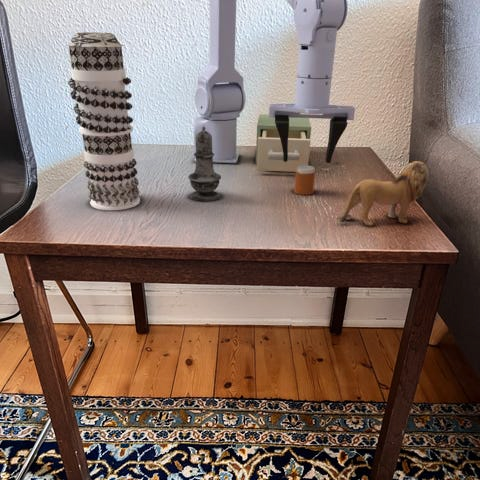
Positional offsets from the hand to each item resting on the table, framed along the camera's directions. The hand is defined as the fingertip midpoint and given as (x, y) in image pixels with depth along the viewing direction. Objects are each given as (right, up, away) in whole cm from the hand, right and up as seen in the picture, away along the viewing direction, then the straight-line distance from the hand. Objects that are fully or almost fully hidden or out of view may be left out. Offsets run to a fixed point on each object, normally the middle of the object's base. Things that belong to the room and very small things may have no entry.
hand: (306, 161), depth 85 cm
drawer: (-3, +4, +15) cm, 16 cm away
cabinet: (-2, +10, +25) cm, 27 cm away
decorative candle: (-34, -9, -4) cm, 35 cm away
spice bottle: (0, -5, +3) cm, 6 cm away
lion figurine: (+11, -13, -8) cm, 19 cm away
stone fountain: (-18, -7, 0) cm, 20 cm away
